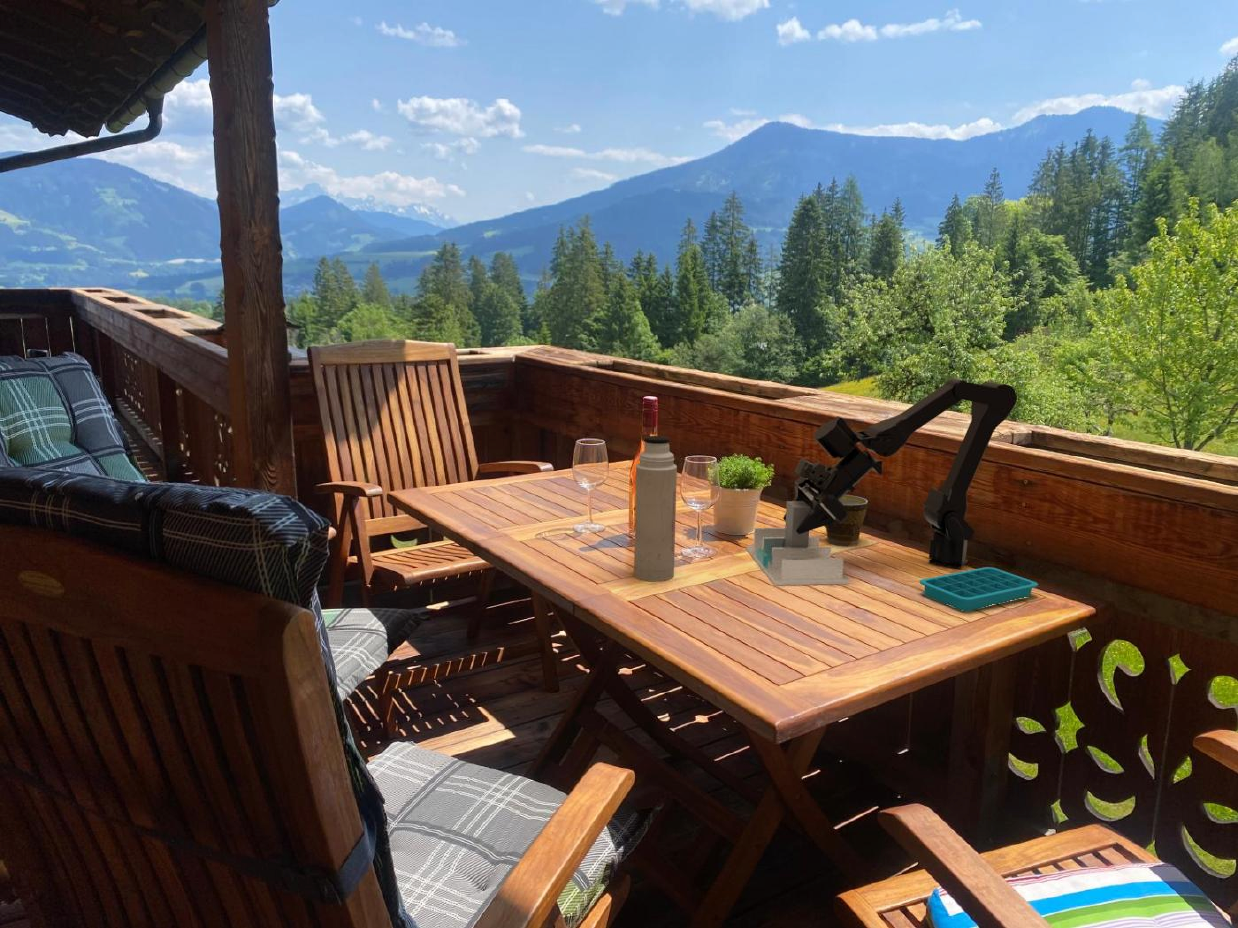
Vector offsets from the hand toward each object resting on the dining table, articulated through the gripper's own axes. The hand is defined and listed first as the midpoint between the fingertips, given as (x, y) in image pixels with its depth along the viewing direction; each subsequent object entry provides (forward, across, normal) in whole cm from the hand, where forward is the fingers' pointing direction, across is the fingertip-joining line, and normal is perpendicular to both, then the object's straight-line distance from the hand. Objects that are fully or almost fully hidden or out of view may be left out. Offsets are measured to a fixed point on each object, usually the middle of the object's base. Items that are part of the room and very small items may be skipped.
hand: (790, 526), depth 176 cm
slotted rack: (+5, 0, +7) cm, 9 cm away
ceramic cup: (-5, -17, +17) cm, 25 cm away
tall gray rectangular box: (+4, 0, +6) cm, 7 cm away
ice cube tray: (-16, +19, +28) cm, 38 cm away
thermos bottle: (+26, +4, -14) cm, 30 cm away
